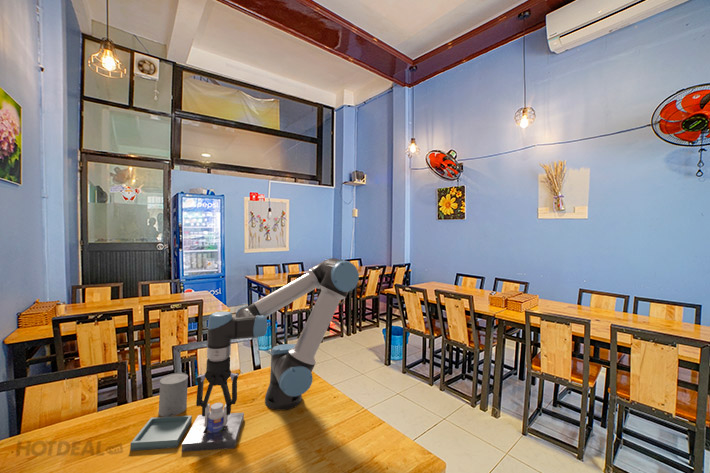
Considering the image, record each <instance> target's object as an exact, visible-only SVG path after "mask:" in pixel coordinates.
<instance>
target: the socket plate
mask: <svg viewBox="0 0 710 473" xmlns="http://www.w3.org/2000/svg"><path fill="white" fill-rule="evenodd" d="M244 417H245V412H230V415H228V421H227V424H226V426H224V431H223V432H217V433H207V429H208V426H207V427H205V416H202V414H198V415H197V417H196V418H195V420H194V422H193V424H192V426H191V427H190V429H189V431H188V433H187V435H186V436H185V438H184V440H183V442H182V443H181V452H182V453H184V452H186V453H187V452H201V451H213V450H228V449H229V450H230V449H235V448H236V445H237V441H238V438H239V435H240V432H241V429H242V425H243V423H244Z"/></svg>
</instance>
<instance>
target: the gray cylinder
mask: <svg viewBox="0 0 710 473" xmlns="http://www.w3.org/2000/svg"><path fill="white" fill-rule="evenodd" d="M188 378H189V375H188V374H187V373H185V372H174V373H170V374H167V375H164V376H163V377H161V378H160V379H159V396H158V397H159V398H158V399H159V400H158V415H159V417H173V416H179V415H180V414H182V413H184V412H185V411H186V410H187V407H188V404H187V402H188V401H187V400H188V383H189V381H188V380H189V379H188Z"/></svg>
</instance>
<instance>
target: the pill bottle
mask: <svg viewBox="0 0 710 473" xmlns="http://www.w3.org/2000/svg"><path fill="white" fill-rule="evenodd" d="M223 423H224V403H222V402H215V403H213V404H210V412H209V414H208V429H207V433H217V432H223V431H224V426H223Z"/></svg>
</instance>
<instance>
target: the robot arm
mask: <svg viewBox="0 0 710 473" xmlns="http://www.w3.org/2000/svg"><path fill="white" fill-rule="evenodd" d="M359 273H360V272H359V270H358V268H357V267H356V265H354V264H353V263H352V262H350V261H348V260H345V259H339V258H334V257H333V258H328V259H326V260H325V259H324V260H322V261H321V262H319V263H318V264H316V265H314V266H313V267H311V268H308V270H307V273H304V274H303V275H302V276H300V277H298V278H296V279H295V280H292V281H291V282H289V283H287V284H285V285H283V286H281V287H280V288H278V289H276V290H274V291H273V292H270V293H269V294H268V295H265V296H264V297H262V298H260V299H258V300H256V301H255V302H253V303H251V304H249V305H244V306H240V307H239V308H238V309H237V310H236V312H235V317H234V316H233V314H232V312H230V311H216V312H213V313H211V314H210V315H209V317H208V320H207V321H208V322H207V323H208V324H207V344H206V345H207V346H206V347H207V348H206V367H205V368H206V371H205V373H204V374H201V373H200V374H199V375H197V377H196V379H195V381H196V383H197V389H196V390H197V391H196V401H195V402H196V403H195V405H196V407H201V415H202V416H205V427H207V426H208V414H209V412H210V411H211V410H210V409H211V403H209V399H210V397H211V393H212V391H213V388H214V387H215V386H220V388H221V390H222V394H223V397H224V401H225V405H223V410H224V423H223V426H226V424H227V421H228V415H230V413H232V405H235V404H236V403H237V400H238V378H239V376H240V374H239V372H236V373H234V372H232V371H231V357H230V356H231V354H232V353H231V350H232V340H241V339H244V340H245V339H253V338H259V337H260V338H262V337H265V336H266V334H267V330H268V322H267V321H268V320H267V318H268V317H269V316H270V315H273V314H274V313H276V312H277V311H279V310H281V309H283V308H284V307H287V306H288V305H290V304H291V303H293V302H294V301H296V300H298V299H300V298H302V297H303V296H305V295H306V294H309V293H310V292H312V291H314V290H315V289H317V290H318V289H319V290H320V293H319V295H318V297H317V298H316V301H315V303H314V305H313V308H312V310H311V312H310V314H309V316H308V318H307V320H306V322H305V325H304V327H303V329H302V331H301V333H300V335H299V337H298V339H297V341H296V343H295V344H291V343H286V344H285V343H284V344H279V345H275V346H273V347H272V349H271V354H270V356H271V357H270V375H269V376H270V378H269V381H270V382H269V384H268V388H267V389H266V393H265V396H264V404H265V406H266V407H267V408H269V409H271V410H274V411H275V410H276V411H287V410H290V409H293V408H295V406H296V407H298V406H299V405H300V404H301V403H302V398H303V394H305V393H306V392H308V390H309V389H310V388H311V386H312V384H313V374H312V372H313V370H314V367H315V365H316V359H315V356H316V354H317V352H318V350H319V347H320V345H321V343H322V340H323V339H324V337H325V334H326V333H327V330H328V328H329V327H330V324H331V322H332V320H333V318H334V315H335V313H336V311H337V309H338V307H339V304H340V302H341V301H342V300H343V299H346V298H347V296H348V294H349V293H350V292H351V291H352V290H354V289H355V288H356V287H357V285H358V283H359V279H360V274H359ZM229 378H230V380H231V381H232V382H231V394H230V389H229V385H228V379H229ZM205 379H206V381H207V382H208V383H209V384H208V386H207V389H206V392H205V395H203V394H204V381H205ZM203 396H204V398H203ZM299 403H300V404H299ZM298 404H299V405H298Z"/></svg>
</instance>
